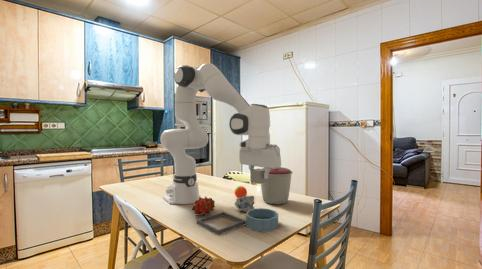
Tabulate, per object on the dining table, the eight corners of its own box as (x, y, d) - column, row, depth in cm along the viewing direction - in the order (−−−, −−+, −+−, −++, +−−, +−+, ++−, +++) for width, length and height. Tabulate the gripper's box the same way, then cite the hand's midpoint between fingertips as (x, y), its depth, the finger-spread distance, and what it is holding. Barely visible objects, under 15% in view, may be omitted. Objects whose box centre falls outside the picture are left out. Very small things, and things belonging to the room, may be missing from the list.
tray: (196, 223, 101) (196, 219, 100) (223, 214, 110) (223, 211, 110) (218, 235, 90) (218, 230, 90) (245, 224, 100) (245, 220, 100)
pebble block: (250, 181, 99) (250, 169, 99) (258, 180, 103) (258, 168, 102) (259, 183, 95) (259, 171, 95) (267, 182, 99) (267, 169, 99)
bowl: (239, 224, 100) (239, 213, 100) (260, 216, 109) (260, 206, 109) (263, 234, 91) (263, 222, 91) (284, 224, 100) (284, 214, 100)
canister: (275, 195, 143) (275, 159, 142) (299, 203, 128) (300, 163, 128) (251, 200, 132) (251, 162, 131) (275, 209, 118) (275, 166, 117)
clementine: (239, 201, 130) (239, 188, 130) (230, 198, 135) (230, 186, 135) (249, 198, 136) (249, 185, 136) (240, 195, 141) (240, 183, 141)
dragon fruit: (217, 215, 115) (193, 224, 108) (209, 201, 120) (186, 209, 113) (220, 204, 110) (196, 213, 103) (212, 190, 115) (188, 198, 108)
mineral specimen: (241, 222, 115) (254, 210, 122) (249, 214, 110) (261, 203, 117) (228, 205, 118) (241, 195, 125) (235, 198, 113) (248, 188, 120)
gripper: (284, 144, 93) (284, 180, 94) (247, 142, 108) (247, 173, 108) (274, 145, 89) (274, 182, 89) (236, 142, 104) (236, 174, 104)
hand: (259, 177), depth 99 cm, fingers closed on pebble block, 5 cm apart
